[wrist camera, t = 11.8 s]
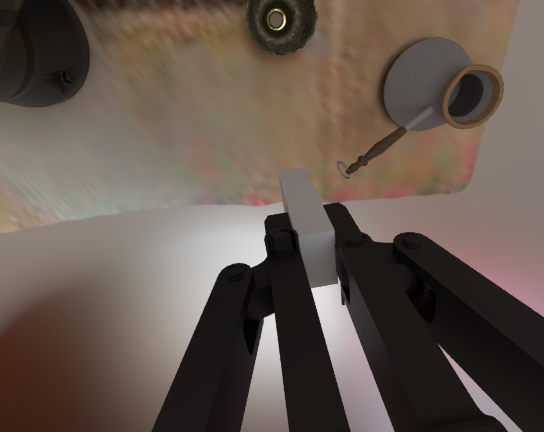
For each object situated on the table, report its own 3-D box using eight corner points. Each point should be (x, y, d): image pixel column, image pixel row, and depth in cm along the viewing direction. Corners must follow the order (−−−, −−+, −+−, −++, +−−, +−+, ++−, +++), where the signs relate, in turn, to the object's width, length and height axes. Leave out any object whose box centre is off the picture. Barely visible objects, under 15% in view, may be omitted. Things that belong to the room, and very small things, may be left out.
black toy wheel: (239, -7, 38) (237, -18, 31) (298, -25, 38) (310, -40, 31) (255, 60, 42) (257, 63, 35) (310, 44, 41) (323, 45, 34)
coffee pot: (447, 19, 41) (541, 8, 28) (465, 101, 46) (551, 125, 33) (299, 103, 45) (321, 128, 32) (331, 170, 50) (361, 216, 37)
